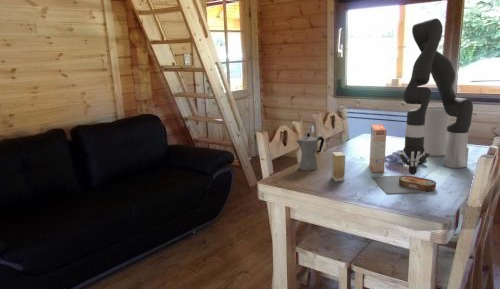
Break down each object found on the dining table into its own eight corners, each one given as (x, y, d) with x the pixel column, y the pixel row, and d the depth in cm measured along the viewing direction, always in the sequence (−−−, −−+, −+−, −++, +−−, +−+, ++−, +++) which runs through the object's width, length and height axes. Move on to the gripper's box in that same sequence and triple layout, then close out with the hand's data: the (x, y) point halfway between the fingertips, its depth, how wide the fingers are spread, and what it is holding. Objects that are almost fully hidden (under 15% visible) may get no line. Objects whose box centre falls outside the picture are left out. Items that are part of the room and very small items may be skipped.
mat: (406, 176, 182) (406, 175, 182) (426, 192, 161) (426, 192, 161) (371, 177, 183) (371, 176, 183) (387, 194, 161) (387, 193, 161)
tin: (439, 181, 165) (431, 185, 159) (438, 188, 166) (430, 192, 160) (404, 174, 176) (395, 177, 170) (403, 181, 176) (395, 184, 170)
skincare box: (331, 177, 185) (331, 151, 182) (340, 176, 185) (340, 151, 182) (335, 181, 179) (335, 155, 176) (344, 181, 179) (345, 154, 176)
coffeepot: (301, 172, 194) (300, 136, 190) (292, 167, 203) (292, 132, 198) (328, 168, 199) (329, 132, 195) (319, 163, 208) (319, 129, 203)
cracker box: (385, 173, 188) (386, 129, 183) (371, 172, 189) (373, 129, 184) (381, 164, 201) (383, 124, 196) (369, 164, 203) (370, 124, 198)
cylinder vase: (442, 150, 222) (446, 106, 216) (449, 156, 210) (453, 110, 204) (418, 150, 224) (421, 106, 218) (424, 156, 212) (427, 110, 206)
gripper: (426, 132, 170) (424, 171, 174) (395, 133, 170) (393, 172, 174) (434, 136, 163) (431, 176, 167) (402, 137, 163) (400, 177, 167)
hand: (412, 174), depth 171 cm, fingers closed
